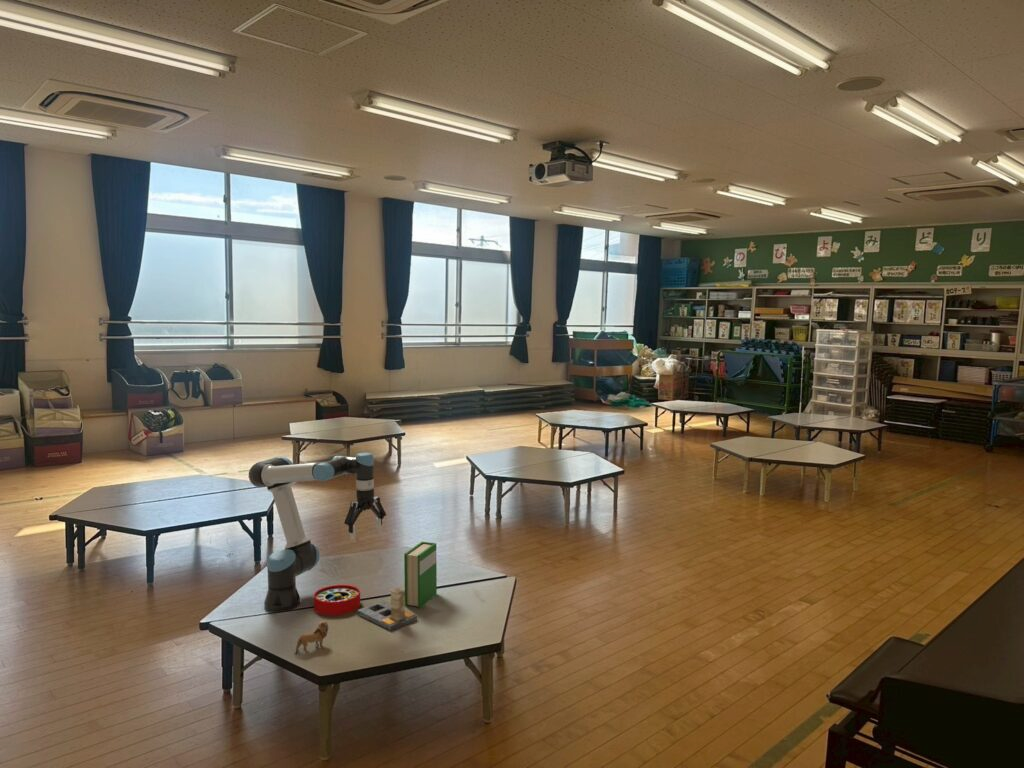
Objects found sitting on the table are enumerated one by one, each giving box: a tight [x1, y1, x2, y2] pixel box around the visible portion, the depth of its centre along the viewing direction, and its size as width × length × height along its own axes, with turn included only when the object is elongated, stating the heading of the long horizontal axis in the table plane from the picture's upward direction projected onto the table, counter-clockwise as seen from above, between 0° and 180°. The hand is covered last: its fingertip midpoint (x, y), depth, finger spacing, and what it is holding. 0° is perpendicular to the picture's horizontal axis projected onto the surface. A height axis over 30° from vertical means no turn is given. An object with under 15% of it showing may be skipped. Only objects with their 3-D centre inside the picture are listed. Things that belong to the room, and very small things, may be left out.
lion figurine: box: [294, 621, 329, 656], centre depth 265 cm, size 15×5×9 cm, turn 141°
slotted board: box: [356, 600, 418, 632], centre depth 293 cm, size 14×23×2 cm, turn 47°
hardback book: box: [403, 541, 438, 609], centre depth 311 cm, size 18×7×24 cm, turn 162°
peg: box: [390, 587, 406, 622], centre depth 288 cm, size 4×4×14 cm
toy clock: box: [313, 584, 361, 616], centre depth 305 cm, size 20×6×20 cm
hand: (365, 536), depth 302 cm, fingers open, 13 cm apart
